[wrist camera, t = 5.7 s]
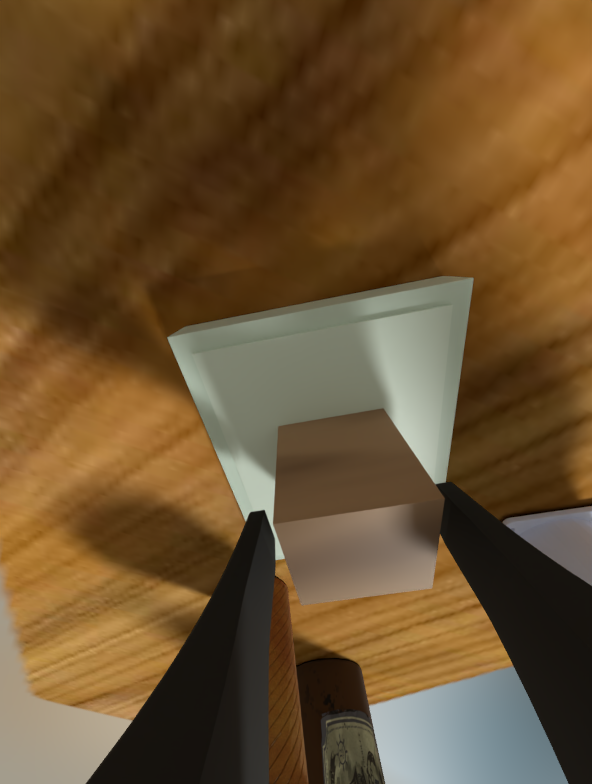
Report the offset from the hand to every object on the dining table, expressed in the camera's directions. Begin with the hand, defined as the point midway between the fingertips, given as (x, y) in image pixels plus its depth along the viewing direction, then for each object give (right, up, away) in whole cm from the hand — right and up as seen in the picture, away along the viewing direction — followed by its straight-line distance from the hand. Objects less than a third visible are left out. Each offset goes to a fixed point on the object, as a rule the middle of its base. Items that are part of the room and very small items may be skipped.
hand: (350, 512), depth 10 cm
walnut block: (0, +2, +2) cm, 3 cm away
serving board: (0, +2, +4) cm, 5 cm away
